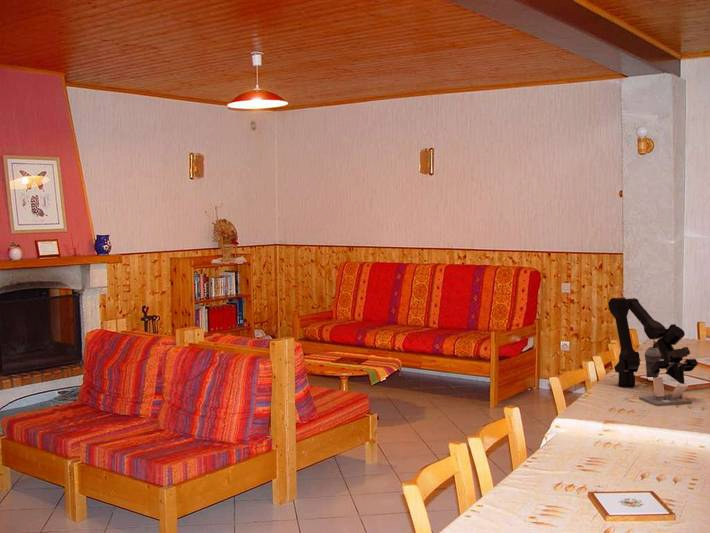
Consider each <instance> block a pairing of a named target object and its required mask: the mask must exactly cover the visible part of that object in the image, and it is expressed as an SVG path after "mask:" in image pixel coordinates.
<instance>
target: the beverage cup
mask: <svg viewBox="0 0 710 533" xmlns="http://www.w3.org/2000/svg"><path fill="white" fill-rule="evenodd" d="M652 341H653V342H652V346H650V347H648V348H647V349H646V350H645V352H644V359H645V370H646V378H647V377H653V378H657V377H659V374H660V372H659V373H654V374H653V373H652V371H651V367H652V365H653V364H654V363H655V362H656V361H662V360H661V359H660V357H661V354H660V352H659V350H658V348H653V345H654V342H656V339H652Z"/></svg>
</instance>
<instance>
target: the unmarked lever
mask: <svg viewBox="0 0 710 533" xmlns="http://www.w3.org/2000/svg"><path fill="white" fill-rule="evenodd" d="M652 383H653V384H652V385H653V391H654V395H656V398H665V394H666V393H665V388H664V379H663V377H662V376H660V377H659V376H658V378H653V382H652Z"/></svg>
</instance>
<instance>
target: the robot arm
mask: <svg viewBox="0 0 710 533" xmlns="http://www.w3.org/2000/svg"><path fill="white" fill-rule="evenodd" d="M608 309H609V313H610V314H611V315H612V316H613V317H614V320H615V325H616V331H617V335H618V340H619V345H620V353H619V356H618V362H617V364H616V365H615V366H614V368H613V369H614V372H615V373H617V374H618V382H617V385H618V387H620V388H622V387H623V388H634V387H635V386H636V375H635V373H637V372H638V370H639V367H640V366H641V361H642V360H641V359H640V352H639V351H636V350H635V349H634V347H633V341H632V338H631V337H632V336H631V331H630V327H629V326H630V325H629V322H628V315H629V312H631V313H632V314H633V315H634V317H635V318H636V319H637V320H638V321H639V322H640V324H641V325H642V326H643V332H644V333H645V335H646V337H647V338H648V339H649V340H653V339H655V340H657V341H654V345H653V344H652V347H653V348H658V350H659V352H660V354H661V357H660V359H661V360H660V361H656V362H655V363H654V364H653V365H652V367H651V371H652V373H653V374H654V373H659V374H660V372H661V370H665V371H666V372H664V373H665V375H667V376H669V377H671V379H674V380H675V381H676V382H678V384H681V383H682V384H684V383H685V375H684V374H685V372H692V371H693V370H694V369H695V368H696V367H697V366H698V365H699V363H698V361H697V359H696V358H687V359H685V361H684V362H682V361H683V360H684V358H686V357H688V356H689V355H691V352H690V349H689V347H688V346H684V347H681V348H674V346H676V345H677V344H678V343H679V342H680V341H681V340H682V339H683V338H684V337H685V334H686V333H685V331H684V329H682V328H681V327H679V326H677V325H676V323H673V324H672V323H671V324H670V325H669V327H668V328H666V327H665V325H664V324H662V323H661V322H660V321H657V320H655V319H654V318H653V317H652V316H651V315H650V314H649V313H648V311H647V310H646V309H645V308H644V306H643V305H642V304H641V303H640V300H639V299H638V298H636V297H632V298H631V297H630V298H626V297H612V298H610V299H609V300H608Z"/></svg>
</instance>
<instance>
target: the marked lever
mask: <svg viewBox="0 0 710 533" xmlns="http://www.w3.org/2000/svg"><path fill="white" fill-rule="evenodd" d="M688 387H689V385H688V383H687V382H686V383H685V382H684V384H682V383H681V384H680V383H678V384H677V385H676V387H674V389H673V390H672V391H671V393H670V394H671V397H680V396H681V394H682V395H683V393H684V392H685V391H686V390H687V388H688Z"/></svg>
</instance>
